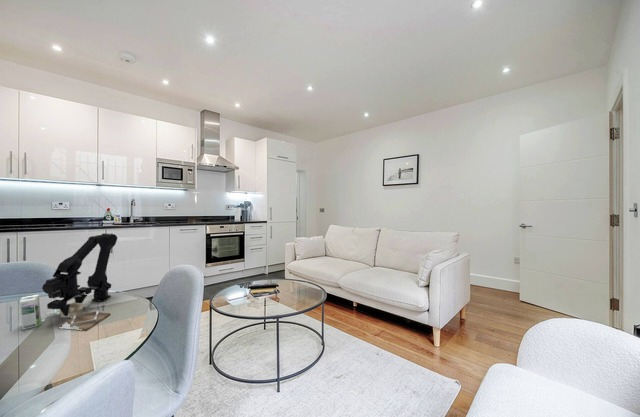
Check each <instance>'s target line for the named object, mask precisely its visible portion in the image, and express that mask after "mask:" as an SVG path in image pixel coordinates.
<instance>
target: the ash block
mask: <svg viewBox="0 0 640 417" xmlns="http://www.w3.org/2000/svg"><path fill="white" fill-rule="evenodd" d="M68 304H70V306H69V311H68V315H67V316H69V317H74V315H76V314H81V313H82V312H84V309H83V306H84V305H83V302H82V303H75V301H73V302H69V303H68ZM59 311H60V317H61V316H64V314H63V313H62V311H61V310H60V309H59Z"/></svg>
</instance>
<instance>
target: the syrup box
mask: <svg viewBox="0 0 640 417" xmlns="http://www.w3.org/2000/svg"><path fill="white" fill-rule="evenodd" d="M39 294H40V293H39ZM39 294H34V295H29V296H23V297H21V298H20V301H19V309H20V316H21V325H22V330H24V331H25V330H27V329H28V330H29V329H31V328H36V327H40V325H41V323H42V315H41V306H40V305H41V304H40V295H39Z"/></svg>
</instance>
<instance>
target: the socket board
mask: <svg viewBox="0 0 640 417" xmlns="http://www.w3.org/2000/svg"><path fill="white" fill-rule="evenodd" d="M110 316H111V313H109V312H101V311H100V310H99V309H98V310H93V311H85V310H83V312H81V313H80V314H76V315H74V317H73V318H70V319H69V320H67V321H66V322H67V323H68V324H70V327H73V326H77V327H79V329H82V330H84V331H83V332H87V331H88V330H90V329H91V328H93V327H95V326H96V325H97V324H99V323H100V322H102V321H104V320H106V318H108V317H110ZM59 327H62V324H60V325H59V326H57V329H58V328H59Z"/></svg>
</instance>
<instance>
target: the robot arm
mask: <svg viewBox="0 0 640 417" xmlns="http://www.w3.org/2000/svg"><path fill="white" fill-rule="evenodd" d="M117 241H118V236H117V235H116V234H114V233H101V234H98V235H93V236H89V237H88V238H87V240H86V241H85V242H84V244H82V246H80V248H78V250H77V251H76V252H74V254H72V255H71V256H70V257H67V258H65V259H64V260H62V261H61V262H60V263H59V264H58V266H57V267H56V270H55V272H54V273H53V274H52V278H49V279H46V280H45V283H43V285H42V288H41V289H42V291H43V292H44V293H45V294H47V296H48V298H49V299H54V300H52V301H50V302H48V303H47V304H46V308H47V309H49V310H50V309H51V310H59V311H60V310H61V311H62V313H63V314H64V316H67V315H68V311H69V306H70V304H69V303H68V302H69V301H71V300H73V299H74V302H75V303H82V304H83V302H84V301H85V300H86V298H87V297H88V295H90V294H91V293H92V291H93V298H92V299H91V301H93V302H104V301H105V300H107V299H109V298H110V297H111V295H110V294H109V290H110V289H111V288H112V283H110V282H108V276H107V274H106V271H107V267H108V262H109V259H110V254H111V251H112V248H114V247H115V246H116V243H117ZM97 245H98V246H99V252H98V255H97V256H98V257H97V262H96V265H95V270H94V272H93V274H92V275H89V276H88V277H87V278H88V279H87V282H86V284H87V286H80V285H79V284H78V275H81V274H82V272H81V271H79V269H80V268H81V266H82V264H83V261H84V259H85V258H86V257H87V256H88V255H89V254H90V253H91V252H92V251H93V250H94V249H95V248H96V247H97ZM56 298H59V299H56Z"/></svg>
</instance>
